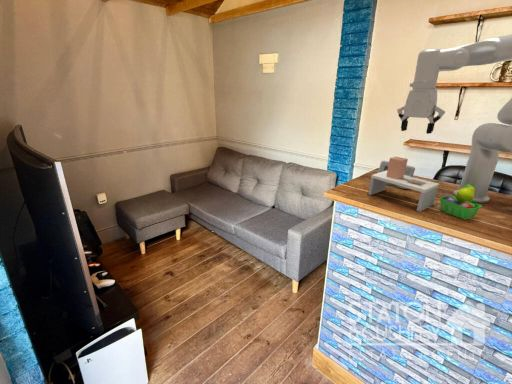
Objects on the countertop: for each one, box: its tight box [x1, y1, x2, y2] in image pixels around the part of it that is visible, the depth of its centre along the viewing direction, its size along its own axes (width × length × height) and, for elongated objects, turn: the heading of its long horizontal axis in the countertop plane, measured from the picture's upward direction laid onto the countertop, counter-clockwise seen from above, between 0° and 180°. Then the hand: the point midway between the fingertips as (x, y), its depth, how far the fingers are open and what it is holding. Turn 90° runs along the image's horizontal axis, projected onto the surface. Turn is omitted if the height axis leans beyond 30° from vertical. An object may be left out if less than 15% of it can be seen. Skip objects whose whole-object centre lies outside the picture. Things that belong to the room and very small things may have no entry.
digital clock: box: [377, 160, 416, 190], centre depth 131 cm, size 16×9×11 cm, turn 29°
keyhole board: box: [368, 170, 440, 213], centre depth 114 cm, size 12×22×9 cm, turn 36°
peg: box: [386, 156, 409, 187], centre depth 115 cm, size 5×5×11 cm
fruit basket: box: [439, 184, 483, 220], centre depth 101 cm, size 11×9×11 cm
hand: (415, 131), depth 109 cm, fingers open, 9 cm apart
